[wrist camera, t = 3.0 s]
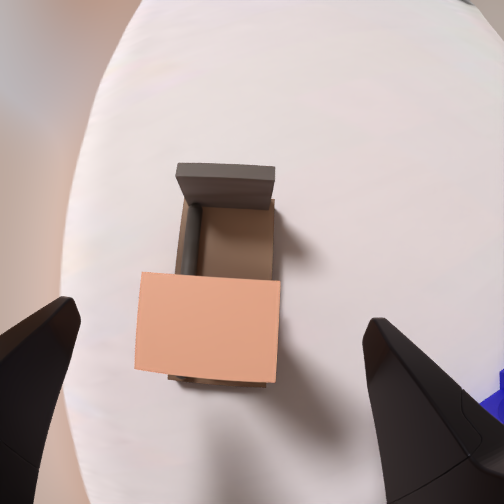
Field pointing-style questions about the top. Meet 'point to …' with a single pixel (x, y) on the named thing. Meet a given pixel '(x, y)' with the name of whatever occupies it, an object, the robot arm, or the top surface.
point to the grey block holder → (225, 228)
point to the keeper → (208, 327)
